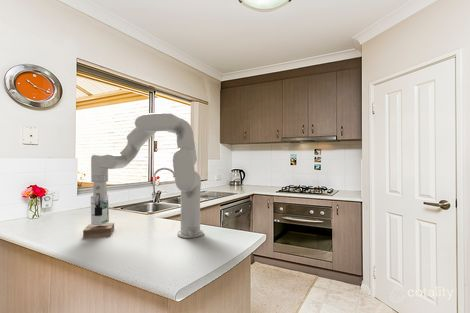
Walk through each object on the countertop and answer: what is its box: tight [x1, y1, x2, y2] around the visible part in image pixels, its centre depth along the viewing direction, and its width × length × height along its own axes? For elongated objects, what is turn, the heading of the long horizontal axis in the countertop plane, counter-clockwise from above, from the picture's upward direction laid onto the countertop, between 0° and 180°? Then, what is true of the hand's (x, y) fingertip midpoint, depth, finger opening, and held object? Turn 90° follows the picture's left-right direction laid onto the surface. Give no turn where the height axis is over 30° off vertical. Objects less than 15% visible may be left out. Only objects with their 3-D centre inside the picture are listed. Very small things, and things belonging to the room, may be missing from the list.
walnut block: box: [82, 222, 115, 239], centre depth 130 cm, size 12×12×4 cm
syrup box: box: [90, 193, 110, 225], centre depth 130 cm, size 6×6×14 cm
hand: (99, 213), depth 130 cm, fingers closed on syrup box, 7 cm apart
